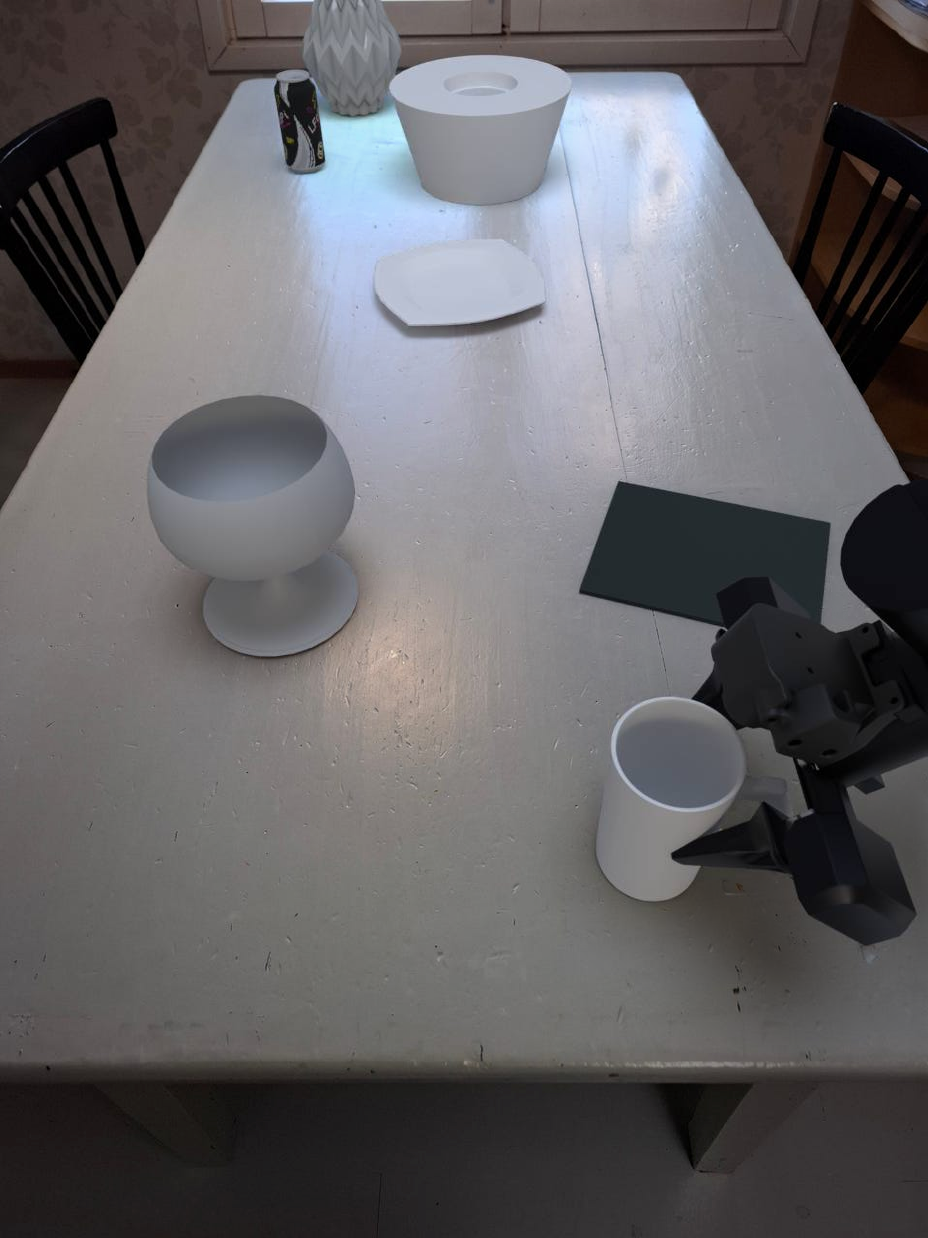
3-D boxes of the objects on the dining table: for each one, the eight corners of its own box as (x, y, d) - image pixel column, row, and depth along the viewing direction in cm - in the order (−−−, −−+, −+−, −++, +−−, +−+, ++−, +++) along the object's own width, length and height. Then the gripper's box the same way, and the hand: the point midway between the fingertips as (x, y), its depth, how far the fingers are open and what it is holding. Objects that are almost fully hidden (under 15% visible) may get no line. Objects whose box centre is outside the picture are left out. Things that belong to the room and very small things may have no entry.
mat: (829, 526, 72) (830, 522, 71) (817, 648, 63) (818, 644, 63) (618, 484, 76) (618, 480, 76) (579, 592, 67) (579, 589, 67)
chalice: (407, 600, 67) (389, 444, 56) (258, 701, 61) (205, 549, 50) (301, 516, 74) (267, 362, 63) (158, 599, 68) (92, 445, 56)
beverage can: (316, 176, 123) (302, 82, 114) (280, 173, 124) (264, 79, 115) (332, 161, 126) (320, 68, 117) (297, 158, 128) (282, 66, 119)
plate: (566, 321, 95) (567, 304, 93) (396, 350, 91) (395, 334, 90) (511, 245, 107) (511, 230, 105) (360, 269, 104) (358, 253, 102)
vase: (411, 121, 137) (402, -21, 123) (308, 129, 135) (288, -13, 122) (402, 88, 147) (393, -46, 134) (307, 95, 146) (288, -39, 132)
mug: (581, 890, 51) (600, 793, 42) (600, 792, 55) (621, 684, 46) (755, 934, 49) (814, 843, 40) (761, 829, 53) (817, 724, 44)
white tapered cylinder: (568, 148, 128) (574, 55, 119) (563, 217, 112) (570, 116, 103) (410, 145, 130) (404, 54, 121) (383, 213, 114) (374, 114, 105)
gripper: (802, 450, 41) (556, 608, 49) (950, 797, 28) (587, 929, 37) (906, 564, 47) (670, 688, 55) (1067, 894, 34) (731, 989, 43)
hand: (665, 801), depth 47 cm, fingers closed on mug, 6 cm apart
